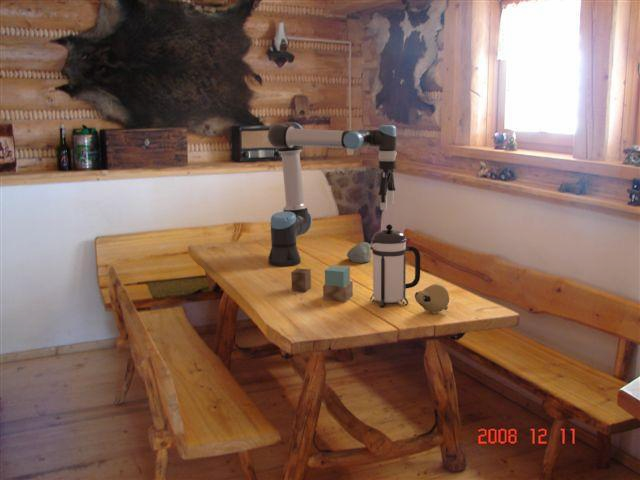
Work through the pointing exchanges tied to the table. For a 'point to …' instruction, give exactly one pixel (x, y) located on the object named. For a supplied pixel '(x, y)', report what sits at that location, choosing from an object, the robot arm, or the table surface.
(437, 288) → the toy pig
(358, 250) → the decorative stone
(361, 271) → the table surface
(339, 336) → the table surface
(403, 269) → the coffee press
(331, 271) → the tower top
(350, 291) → the tower base
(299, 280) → the walnut block
